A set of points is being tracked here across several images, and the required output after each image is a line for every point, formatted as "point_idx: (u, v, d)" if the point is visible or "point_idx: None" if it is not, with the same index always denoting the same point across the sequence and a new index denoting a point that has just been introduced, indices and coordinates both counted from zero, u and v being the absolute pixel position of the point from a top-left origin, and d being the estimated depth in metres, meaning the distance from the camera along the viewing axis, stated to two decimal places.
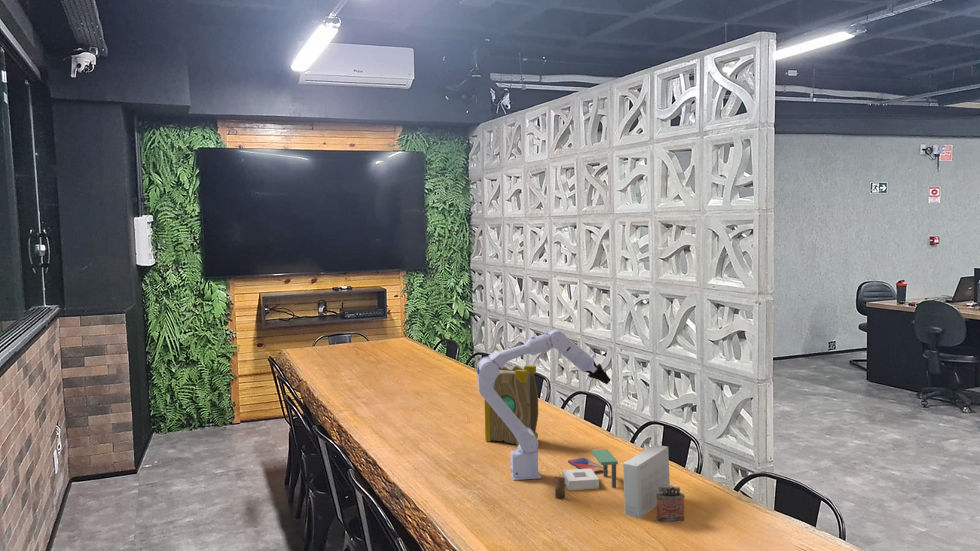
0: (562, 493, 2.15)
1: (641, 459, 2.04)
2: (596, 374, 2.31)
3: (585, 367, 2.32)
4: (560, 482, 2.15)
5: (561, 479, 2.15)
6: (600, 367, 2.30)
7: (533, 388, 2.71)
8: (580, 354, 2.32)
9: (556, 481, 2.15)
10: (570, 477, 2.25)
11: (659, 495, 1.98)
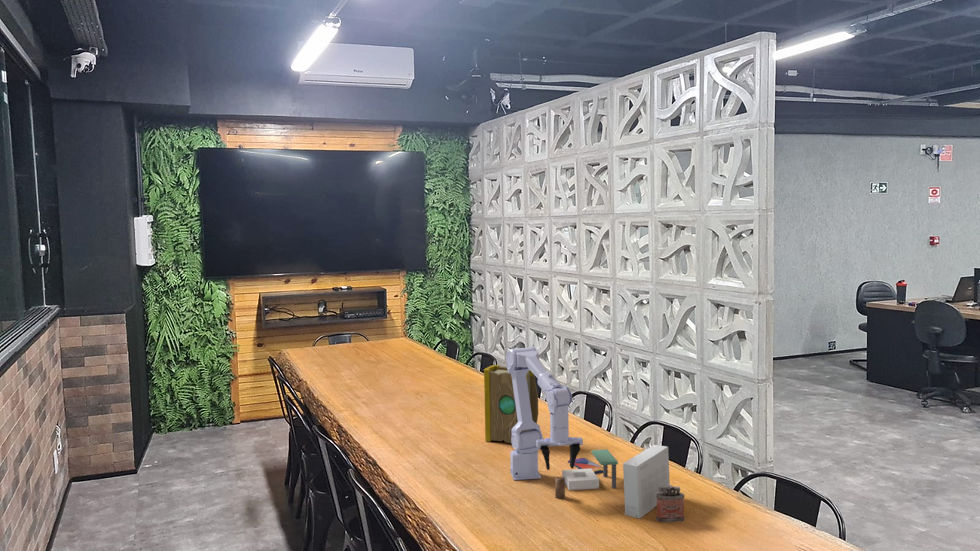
0: (562, 493, 2.15)
1: (641, 459, 2.04)
2: None
3: (550, 438, 2.16)
4: (560, 482, 2.15)
5: (561, 479, 2.15)
6: (542, 451, 2.13)
7: (533, 388, 2.71)
8: (551, 427, 2.13)
9: (556, 481, 2.15)
10: (570, 477, 2.25)
11: (659, 495, 1.98)
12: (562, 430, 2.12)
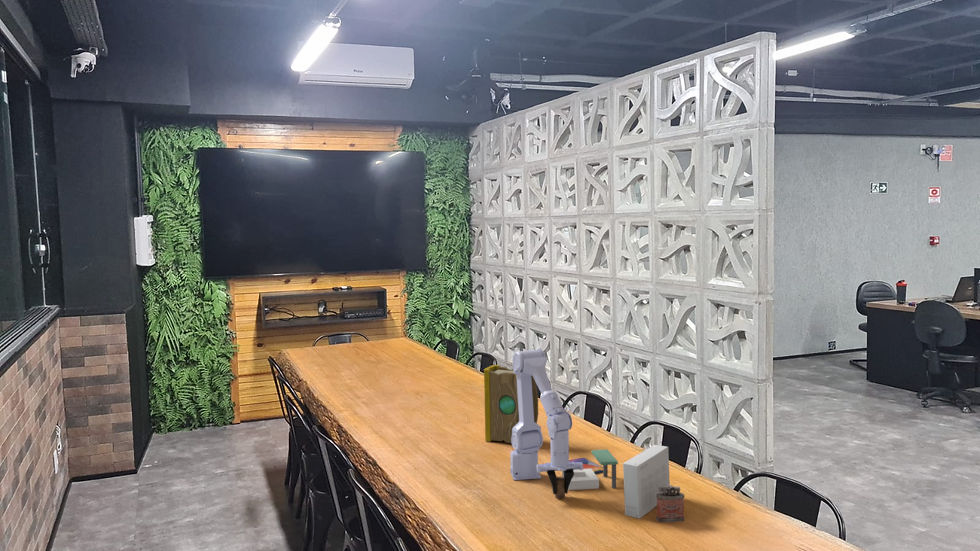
0: (562, 493, 2.15)
1: (641, 459, 2.04)
2: None
3: (550, 463, 2.17)
4: (560, 482, 2.15)
5: (561, 479, 2.15)
6: (549, 476, 2.14)
7: (533, 388, 2.71)
8: (552, 452, 2.14)
9: (556, 481, 2.15)
10: None
11: (659, 495, 1.98)
12: (562, 455, 2.13)
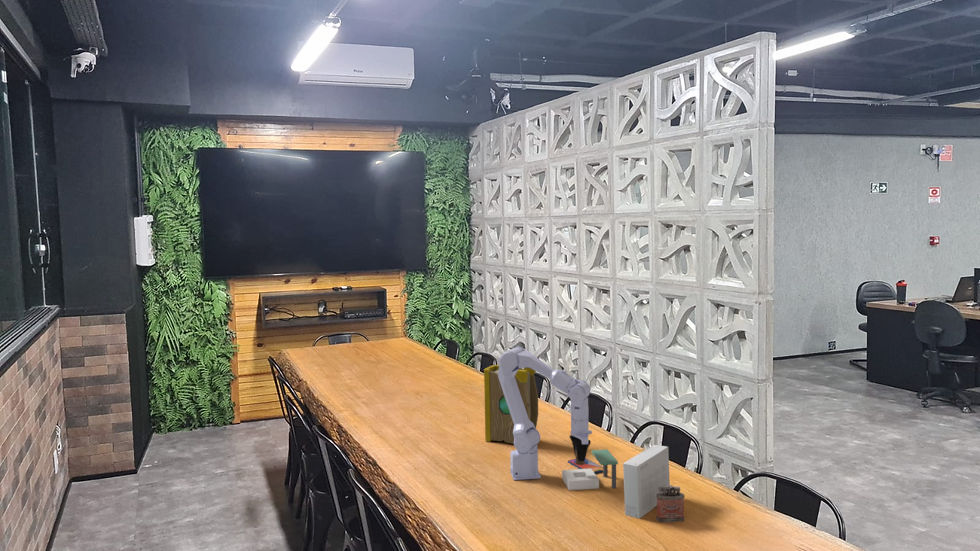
0: None
1: (641, 459, 2.04)
2: (579, 445, 2.24)
3: (578, 434, 2.23)
4: None
5: None
6: (588, 443, 2.23)
7: (533, 388, 2.71)
8: (584, 421, 2.23)
9: None
10: (570, 477, 2.25)
11: (659, 495, 1.98)
12: None
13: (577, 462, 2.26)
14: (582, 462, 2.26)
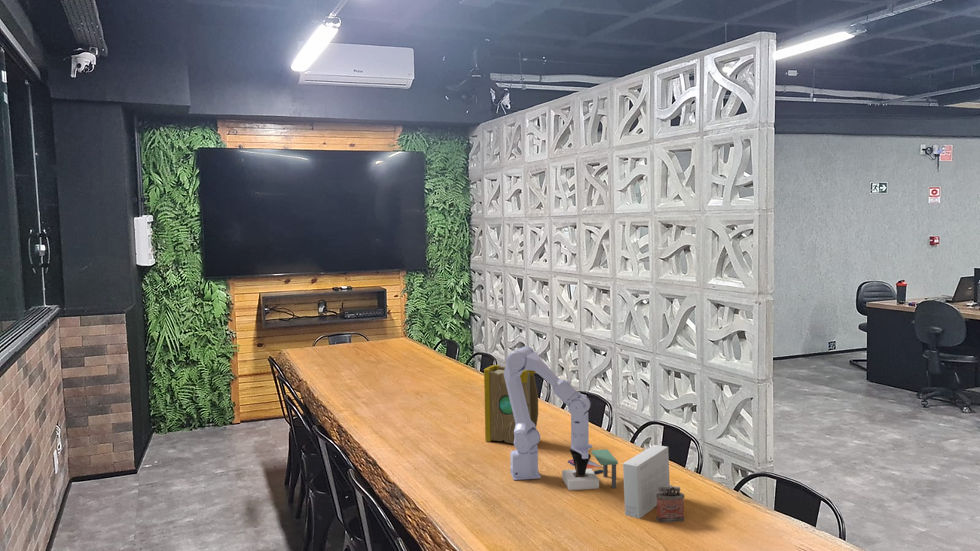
0: None
1: (641, 459, 2.04)
2: (579, 459, 2.24)
3: (578, 448, 2.24)
4: None
5: None
6: (588, 458, 2.23)
7: (533, 388, 2.71)
8: (585, 435, 2.24)
9: None
10: (570, 477, 2.25)
11: (659, 495, 1.98)
12: None
13: (577, 476, 2.26)
14: (582, 476, 2.26)
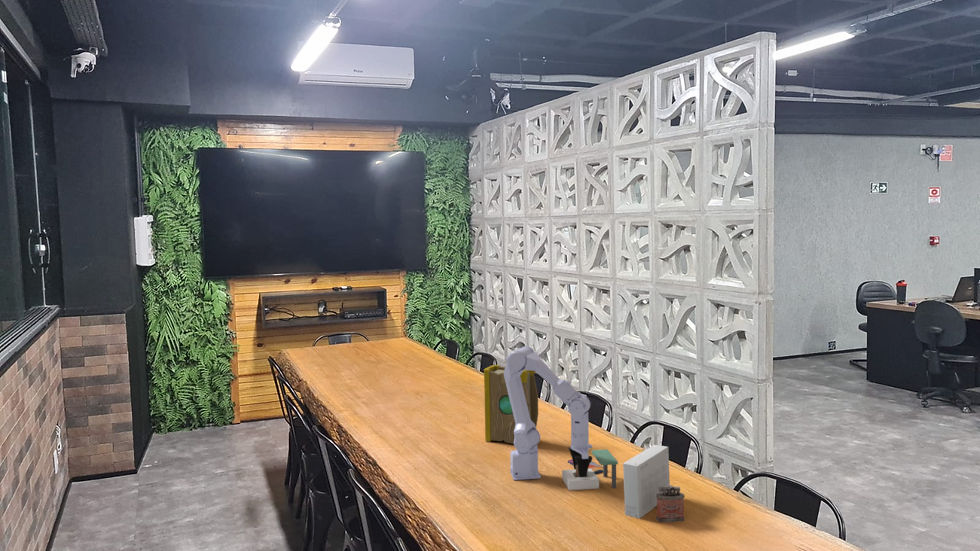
0: None
1: (641, 459, 2.04)
2: (581, 461, 2.23)
3: (578, 448, 2.24)
4: None
5: None
6: (590, 460, 2.21)
7: (533, 388, 2.71)
8: (585, 435, 2.24)
9: None
10: (570, 477, 2.25)
11: (659, 495, 1.98)
12: None
13: None
14: None
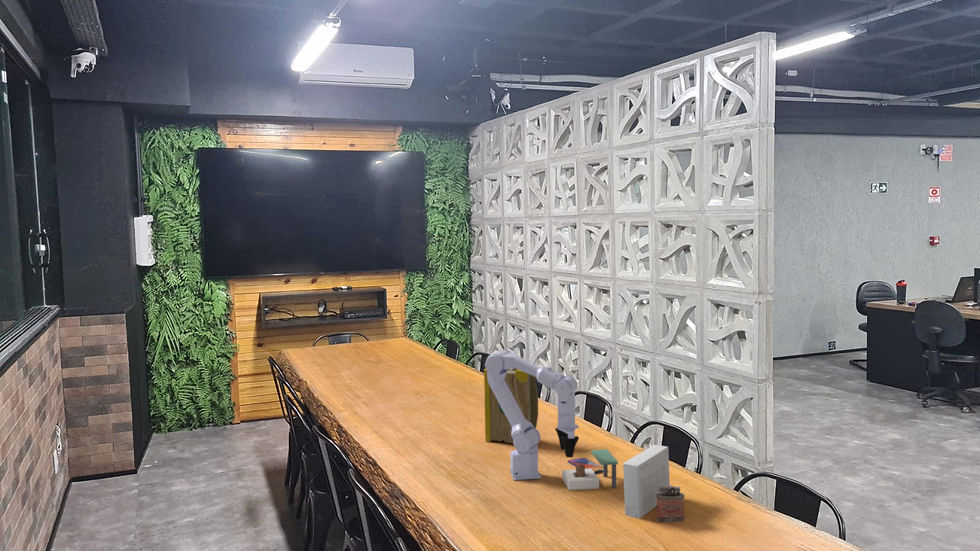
0: None
1: (641, 459, 2.04)
2: (567, 442, 2.23)
3: (564, 428, 2.25)
4: (584, 467, 2.27)
5: (582, 465, 2.27)
6: (576, 439, 2.22)
7: (533, 388, 2.71)
8: (571, 415, 2.25)
9: (583, 468, 2.26)
10: (570, 477, 2.25)
11: (659, 495, 1.98)
12: None
13: None
14: None
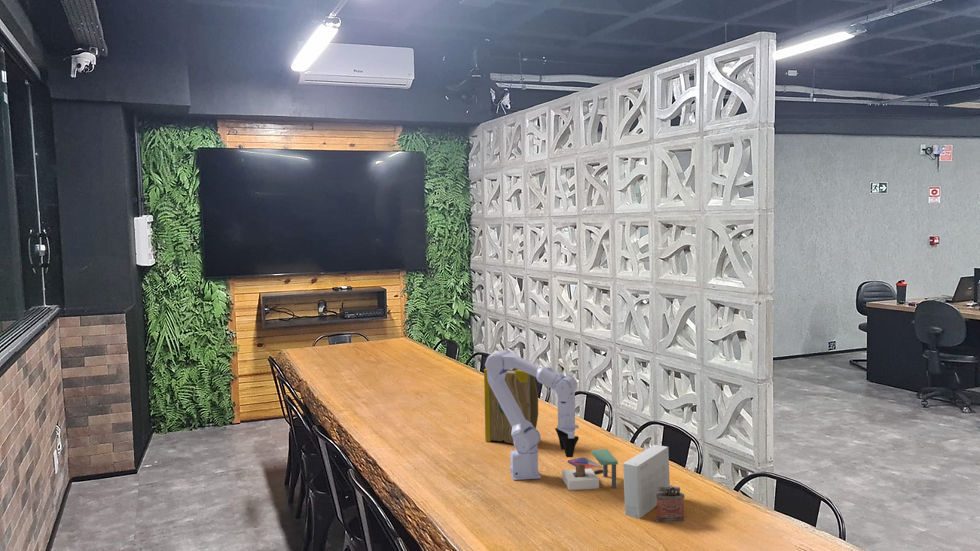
0: None
1: (641, 459, 2.04)
2: (567, 441, 2.23)
3: (564, 428, 2.25)
4: (584, 467, 2.27)
5: (582, 465, 2.27)
6: (576, 439, 2.22)
7: (533, 388, 2.71)
8: (571, 415, 2.25)
9: (583, 468, 2.26)
10: (570, 477, 2.25)
11: (659, 495, 1.98)
12: None
13: None
14: None
